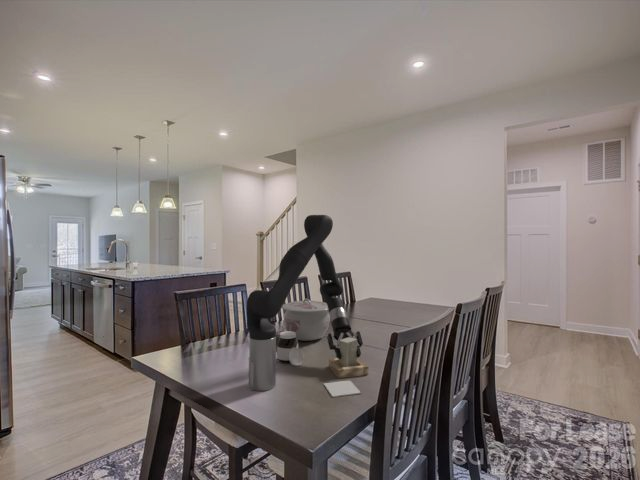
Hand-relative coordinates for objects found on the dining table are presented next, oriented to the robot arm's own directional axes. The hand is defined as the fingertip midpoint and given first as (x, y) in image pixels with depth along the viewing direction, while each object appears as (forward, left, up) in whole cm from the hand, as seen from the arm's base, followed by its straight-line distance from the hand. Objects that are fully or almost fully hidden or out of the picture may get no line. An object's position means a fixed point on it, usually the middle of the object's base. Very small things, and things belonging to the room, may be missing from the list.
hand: (349, 357), depth 129 cm
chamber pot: (-5, +49, -6) cm, 50 cm away
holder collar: (0, +1, -6) cm, 6 cm away
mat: (-8, -14, -6) cm, 17 cm away
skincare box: (0, +1, -6) cm, 6 cm away
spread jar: (-20, +16, -6) cm, 27 cm away
